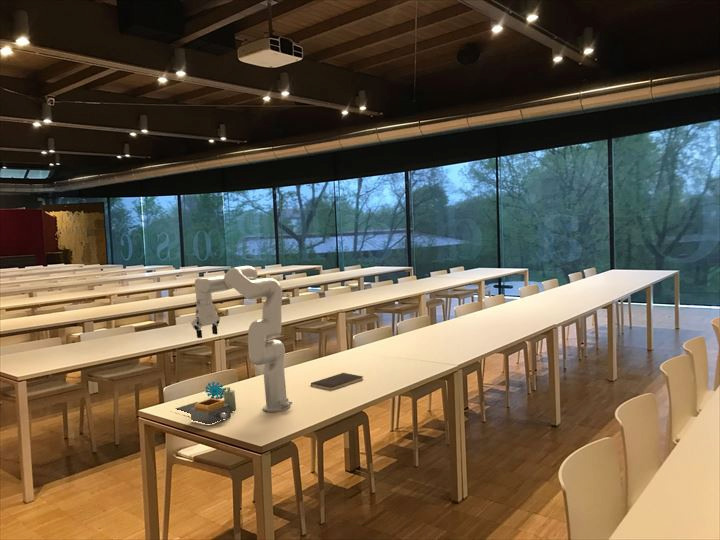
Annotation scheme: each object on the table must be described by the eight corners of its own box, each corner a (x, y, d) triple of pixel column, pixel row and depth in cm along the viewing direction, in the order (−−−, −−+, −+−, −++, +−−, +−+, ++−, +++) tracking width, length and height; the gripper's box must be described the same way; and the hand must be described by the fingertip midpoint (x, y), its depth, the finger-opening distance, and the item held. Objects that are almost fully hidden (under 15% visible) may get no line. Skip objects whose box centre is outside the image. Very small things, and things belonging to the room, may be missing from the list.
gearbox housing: (236, 418, 254) (235, 401, 253) (215, 427, 244) (213, 409, 244) (213, 414, 263) (211, 396, 263) (191, 422, 254) (189, 404, 253)
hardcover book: (363, 380, 304) (363, 376, 304) (331, 391, 288) (330, 387, 288) (343, 376, 315) (342, 372, 315) (310, 386, 299) (310, 382, 299)
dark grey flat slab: (220, 406, 269) (190, 416, 258) (220, 410, 269) (191, 420, 259) (198, 400, 283) (169, 408, 272) (198, 403, 283) (169, 412, 272)
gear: (208, 398, 283) (204, 381, 289) (204, 405, 287) (201, 388, 293) (229, 396, 289) (225, 380, 295) (226, 403, 293) (222, 386, 299)
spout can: (238, 409, 267) (236, 386, 266) (230, 413, 263) (228, 389, 262) (231, 408, 270) (229, 385, 269) (222, 411, 266) (220, 388, 265)
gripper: (195, 305, 279) (198, 339, 280) (222, 300, 293) (225, 333, 294) (185, 304, 284) (188, 339, 285) (213, 299, 298) (216, 332, 299)
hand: (207, 336), depth 290 cm, fingers open, 9 cm apart
